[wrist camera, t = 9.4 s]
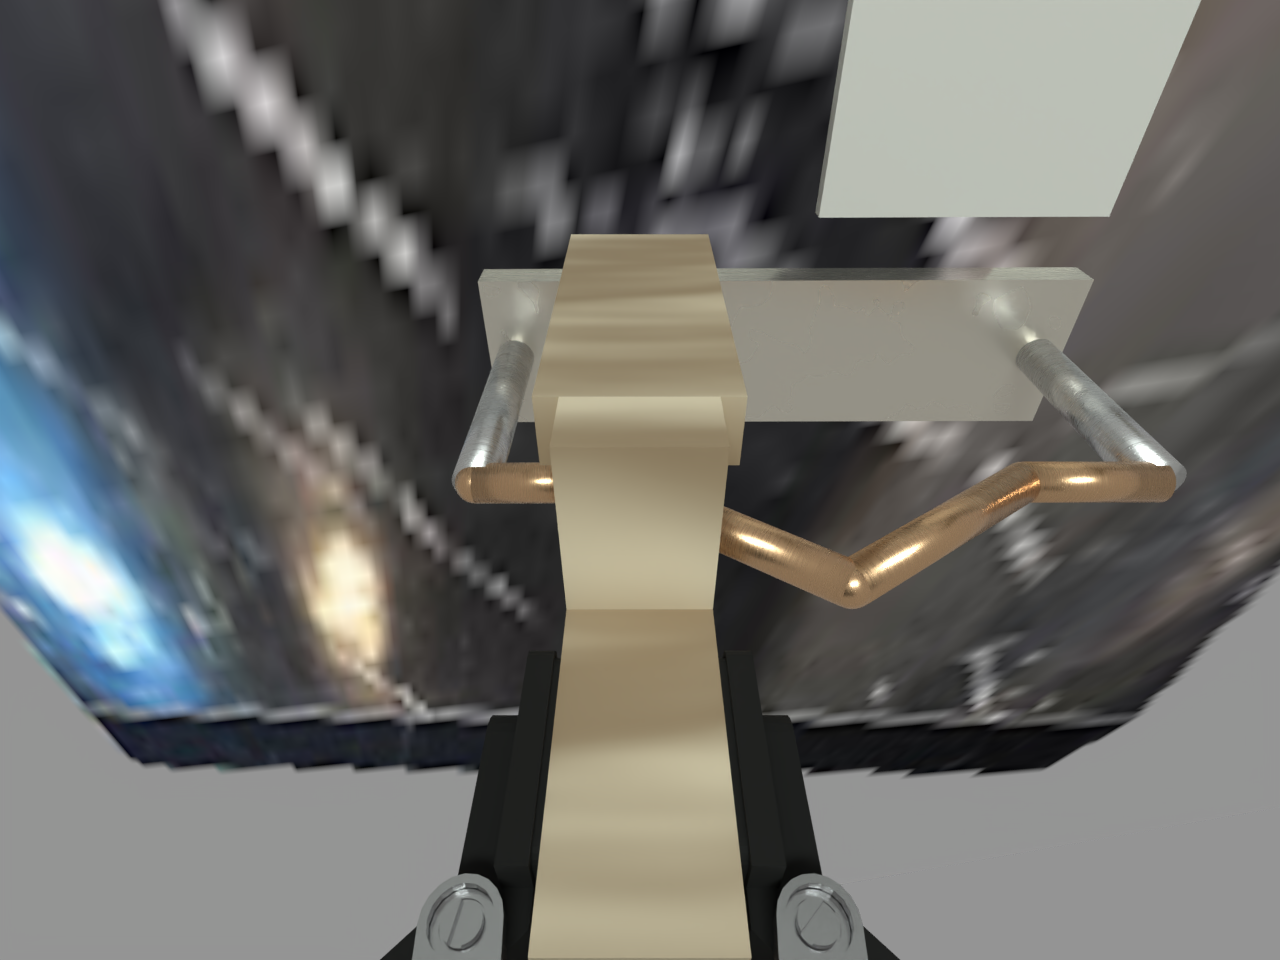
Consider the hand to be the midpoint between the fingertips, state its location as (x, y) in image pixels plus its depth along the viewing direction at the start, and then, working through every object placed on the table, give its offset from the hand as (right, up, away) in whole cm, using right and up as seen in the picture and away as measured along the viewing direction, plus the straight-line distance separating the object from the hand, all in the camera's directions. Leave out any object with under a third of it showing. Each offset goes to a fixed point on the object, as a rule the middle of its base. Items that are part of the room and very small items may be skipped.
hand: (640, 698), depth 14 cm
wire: (+5, +10, +13) cm, 17 cm away
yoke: (0, +7, +9) cm, 12 cm away
